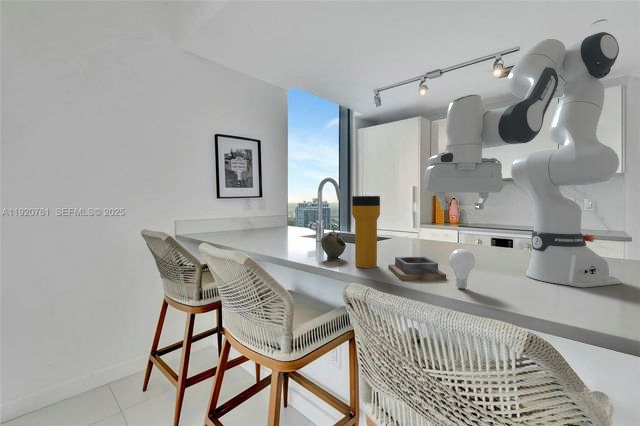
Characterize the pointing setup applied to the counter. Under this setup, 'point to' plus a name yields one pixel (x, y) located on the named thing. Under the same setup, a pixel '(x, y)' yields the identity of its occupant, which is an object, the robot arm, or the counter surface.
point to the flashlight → (366, 229)
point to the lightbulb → (462, 266)
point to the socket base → (416, 269)
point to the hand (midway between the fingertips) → (461, 209)
